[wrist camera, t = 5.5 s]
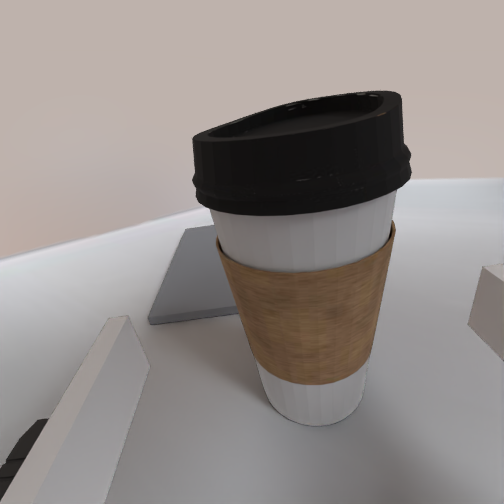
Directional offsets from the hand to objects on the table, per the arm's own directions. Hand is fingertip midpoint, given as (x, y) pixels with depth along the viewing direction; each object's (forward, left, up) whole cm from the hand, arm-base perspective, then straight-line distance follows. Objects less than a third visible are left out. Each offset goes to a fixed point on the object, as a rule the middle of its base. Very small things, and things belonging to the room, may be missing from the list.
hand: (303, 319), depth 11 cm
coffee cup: (-1, -3, -8) cm, 9 cm away
